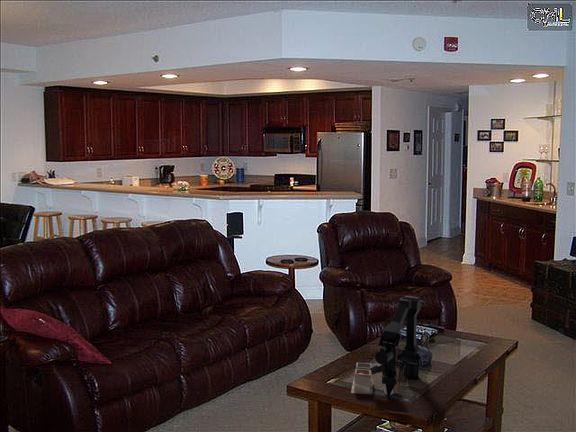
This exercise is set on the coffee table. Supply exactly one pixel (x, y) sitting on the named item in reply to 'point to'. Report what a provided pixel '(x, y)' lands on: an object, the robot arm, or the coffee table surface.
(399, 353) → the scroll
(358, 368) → the box
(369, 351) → the coffee table surface
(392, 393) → the grey ball
